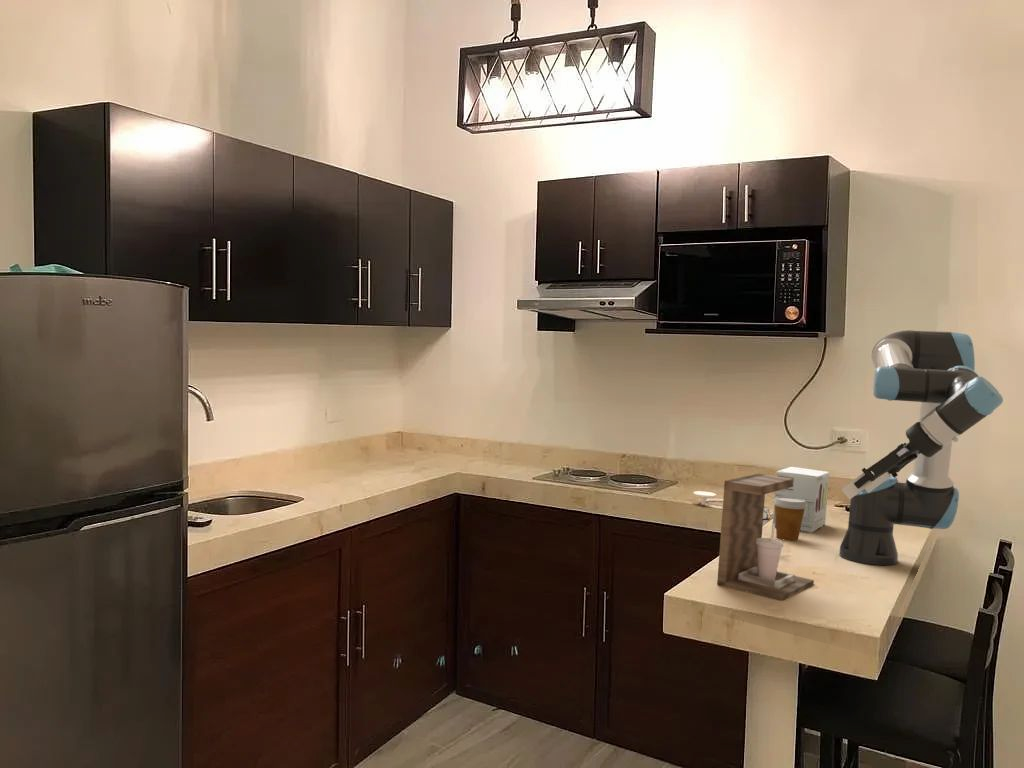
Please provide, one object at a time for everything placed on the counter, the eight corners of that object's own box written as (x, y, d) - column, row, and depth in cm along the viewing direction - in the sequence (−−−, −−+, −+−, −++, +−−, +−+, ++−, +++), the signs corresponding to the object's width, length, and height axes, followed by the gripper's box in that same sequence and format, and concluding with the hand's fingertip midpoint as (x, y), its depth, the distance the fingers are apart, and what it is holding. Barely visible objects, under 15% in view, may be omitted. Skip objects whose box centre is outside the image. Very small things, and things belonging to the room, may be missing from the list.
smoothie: (781, 585, 206) (786, 527, 206) (754, 582, 208) (758, 524, 207) (778, 578, 213) (783, 521, 212) (751, 575, 214) (756, 519, 213)
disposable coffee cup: (807, 538, 265) (810, 499, 264) (798, 543, 257) (801, 503, 256) (776, 533, 270) (779, 495, 270) (766, 538, 262) (769, 498, 262)
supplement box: (813, 533, 274) (818, 476, 273) (771, 526, 281) (775, 470, 280) (826, 525, 288) (830, 471, 287) (786, 518, 295) (790, 465, 294)
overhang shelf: (751, 570, 223) (758, 473, 222) (813, 584, 213) (821, 483, 212) (717, 584, 208) (724, 480, 206) (782, 600, 198) (790, 491, 196)
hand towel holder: (757, 500, 305) (700, 497, 303) (756, 512, 305) (699, 510, 303) (741, 491, 322) (686, 488, 320) (740, 502, 322) (685, 500, 320)
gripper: (929, 451, 177) (848, 511, 188) (957, 443, 197) (882, 498, 207) (903, 422, 180) (825, 483, 191) (934, 417, 200) (861, 473, 210)
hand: (855, 491), depth 199 cm, fingers open, 13 cm apart
